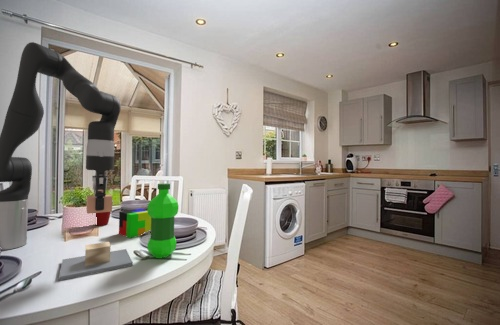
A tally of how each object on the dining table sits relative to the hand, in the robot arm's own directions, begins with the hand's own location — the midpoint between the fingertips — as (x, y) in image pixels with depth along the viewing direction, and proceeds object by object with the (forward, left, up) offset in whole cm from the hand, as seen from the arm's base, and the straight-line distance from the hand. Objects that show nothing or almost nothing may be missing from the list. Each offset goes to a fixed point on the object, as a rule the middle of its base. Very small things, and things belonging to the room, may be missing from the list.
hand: (99, 208), depth 75 cm
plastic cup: (+4, +55, -18) cm, 58 cm away
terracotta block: (0, 0, -1) cm, 1 cm away
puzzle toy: (+16, +30, -18) cm, 38 cm away
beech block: (0, 0, -16) cm, 16 cm away
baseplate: (0, 0, -17) cm, 17 cm away
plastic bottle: (+19, -3, -18) cm, 26 cm away
